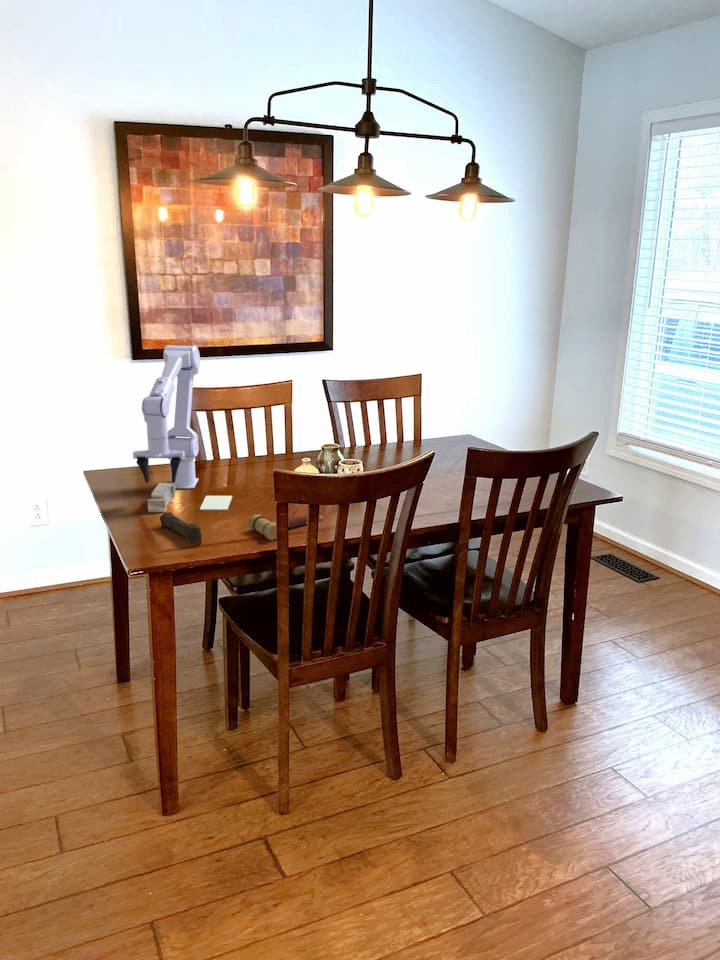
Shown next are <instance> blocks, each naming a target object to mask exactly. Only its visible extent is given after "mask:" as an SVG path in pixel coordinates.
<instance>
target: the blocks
mask: <svg viewBox="0 0 720 960" xmlns="http://www.w3.org/2000/svg"><path fill="white" fill-rule="evenodd" d="M171 494H172V498H175V497H176V496H177V495H176V488H175V485H171ZM175 495H176V496H175ZM146 502H147V512H148V513H160V512H161V513H167V511H168V510H167V509H168V507H167V506H168V505H167V506H166V499H152V498H148V499H147V501H146ZM166 510H167V511H166Z"/></svg>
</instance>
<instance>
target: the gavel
mask: <svg viewBox="0 0 720 960" xmlns="http://www.w3.org/2000/svg"><path fill="white" fill-rule="evenodd" d="M319 516H320V520H322V519H323V516H321V515H319ZM288 519H289V528H288V529H291V528H296V527H297V528H298V527H301V526H302V525H303V526H306V522H307V515H302V516H297V517H291V518H288ZM320 520H319V521H320ZM248 527H249V529H251V530H252V531H253V532H255V531H257V533H259V534H261V535H263V536H264V537H265V538H266V539H267V540H269V541H271V540H272V539H276V521H272V522H271V521H269V520H268V519H267V518H266V517H265V516H263V515H261V514H258V513H257V514H254V515H252V516H251V517H250V518H249V521H248ZM276 540H277V539H276ZM272 541H273V540H272Z"/></svg>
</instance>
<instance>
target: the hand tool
mask: <svg viewBox="0 0 720 960" xmlns="http://www.w3.org/2000/svg"><path fill="white" fill-rule="evenodd" d="M159 521H160V525H161V526H162V527H163V526H164V527H165V528H169V529H171V530H172V531H173V532H176V533H177V534H179V535H180V536H183V537H184V538H185V540H186V541H187V542H189V541H190V542H189V543H192V542H193V543H192V544H195V543H196V545H202V537H203V536H202V530H201V527H200V526H198V525H197V524H195V523H188V522H186V521H183V520H182V519H180V518H179V517H177V516H175V515H174V513H173V512H169V511H168V512H163V513H162V515H160V517H159Z"/></svg>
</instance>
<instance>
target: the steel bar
mask: <svg viewBox="0 0 720 960" xmlns="http://www.w3.org/2000/svg"><path fill="white" fill-rule="evenodd" d="M156 485H157V486H156V487H155V488H154V489H153V491H152V492H151V499H166V506H168V505H169V503H170V502H171V500H172V499H173V497H172V494H171V482H159V483H158V484H156ZM170 499H171V500H170ZM169 501H170V502H169ZM168 502H169V503H168ZM167 504H168V505H167Z"/></svg>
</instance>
